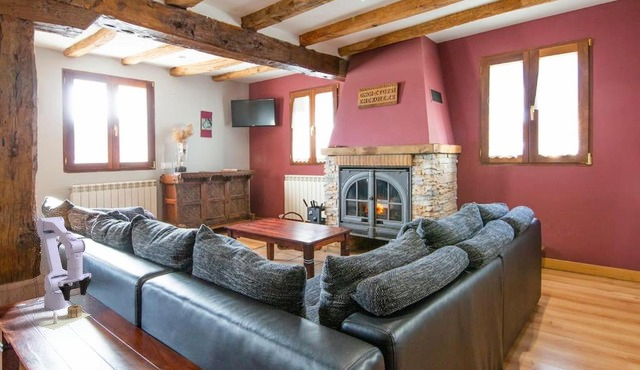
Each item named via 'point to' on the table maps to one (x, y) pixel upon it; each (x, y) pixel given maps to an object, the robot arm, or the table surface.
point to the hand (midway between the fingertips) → (75, 297)
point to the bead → (75, 311)
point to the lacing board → (61, 321)
